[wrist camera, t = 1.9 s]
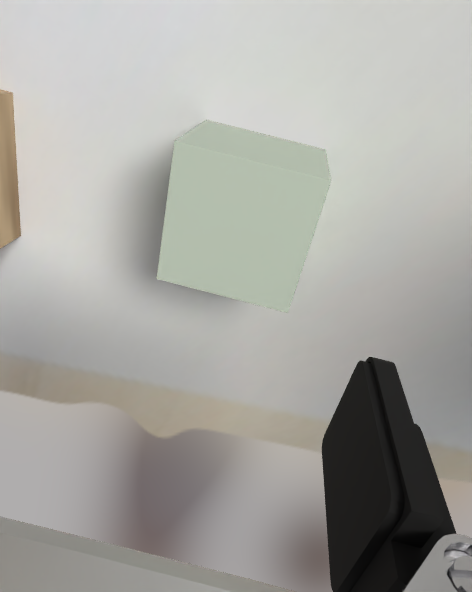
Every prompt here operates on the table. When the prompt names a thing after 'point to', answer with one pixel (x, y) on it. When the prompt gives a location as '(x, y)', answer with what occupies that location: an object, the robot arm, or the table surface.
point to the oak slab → (8, 173)
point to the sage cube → (241, 213)
